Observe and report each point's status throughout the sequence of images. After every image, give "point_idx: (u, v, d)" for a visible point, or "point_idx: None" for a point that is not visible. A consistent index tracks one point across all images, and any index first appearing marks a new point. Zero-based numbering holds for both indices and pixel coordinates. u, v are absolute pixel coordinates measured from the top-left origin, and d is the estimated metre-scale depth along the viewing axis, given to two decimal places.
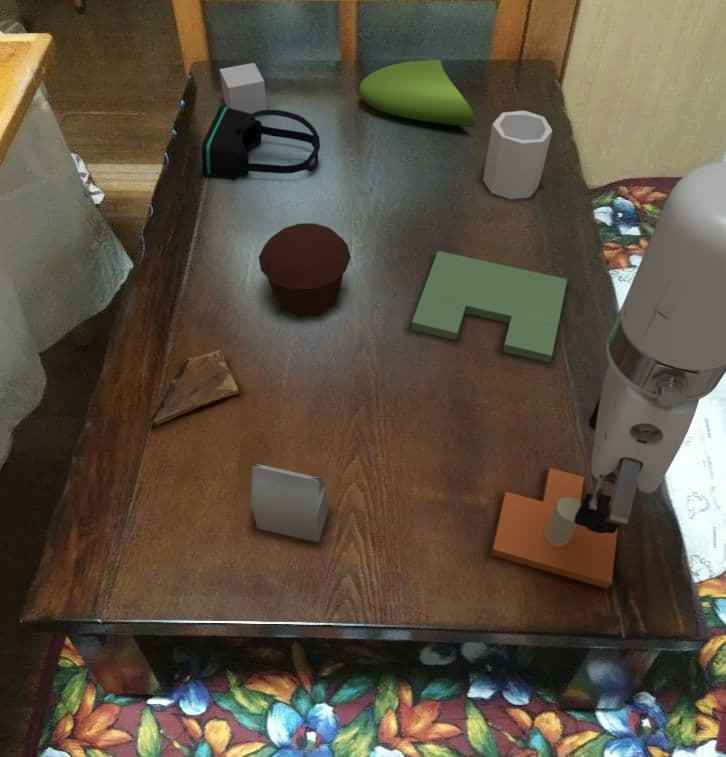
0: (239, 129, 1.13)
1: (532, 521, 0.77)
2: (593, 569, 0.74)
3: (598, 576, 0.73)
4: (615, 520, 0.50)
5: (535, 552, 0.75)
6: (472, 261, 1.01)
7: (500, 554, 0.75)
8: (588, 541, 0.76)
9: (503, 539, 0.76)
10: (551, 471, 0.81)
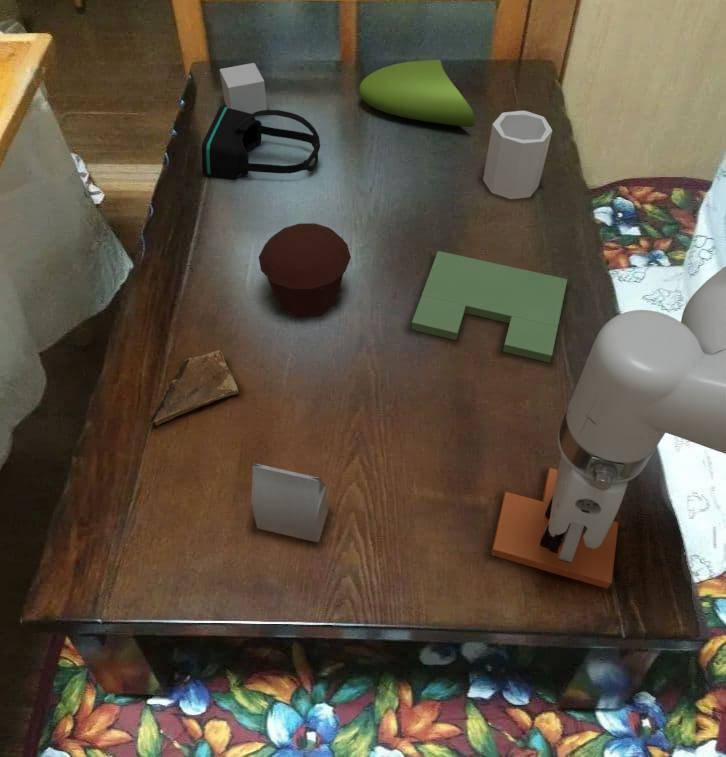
0: (239, 129, 1.13)
1: (532, 521, 0.77)
2: (593, 569, 0.74)
3: (598, 576, 0.73)
4: (562, 560, 0.67)
5: (535, 552, 0.75)
6: (472, 261, 1.01)
7: (500, 554, 0.75)
8: None
9: (503, 539, 0.76)
10: (551, 471, 0.81)
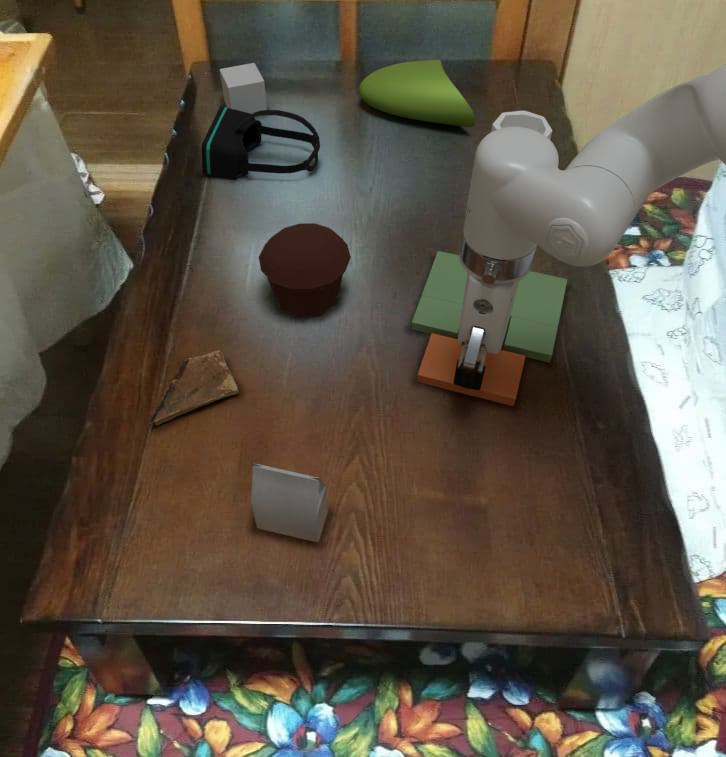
0: (239, 129, 1.13)
1: (452, 354, 0.91)
2: (501, 389, 0.87)
3: (505, 394, 0.87)
4: (467, 366, 0.77)
5: (453, 377, 0.88)
6: None
7: (424, 379, 0.89)
8: (499, 369, 0.89)
9: (427, 367, 0.89)
10: None
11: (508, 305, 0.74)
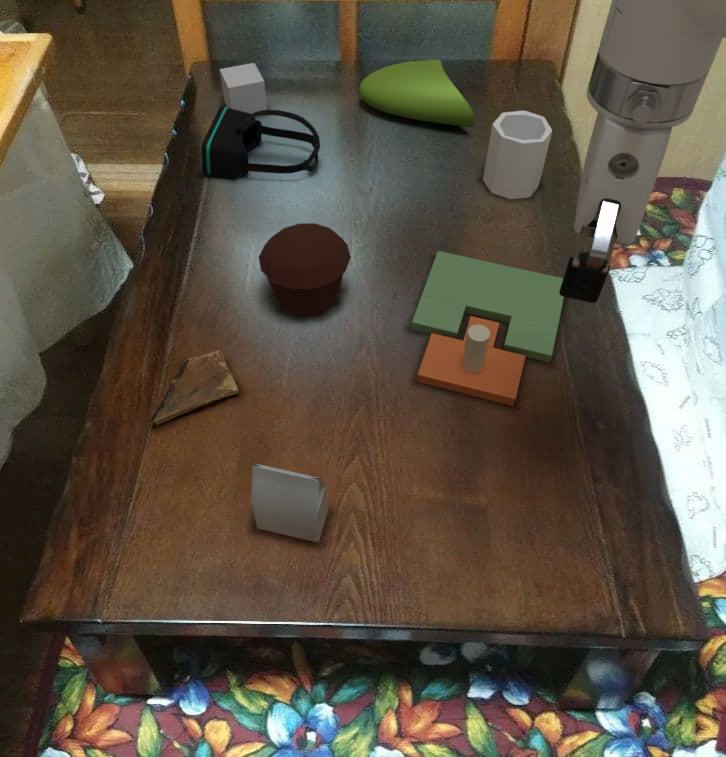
0: (239, 129, 1.13)
1: (452, 354, 0.91)
2: (501, 389, 0.87)
3: (505, 394, 0.87)
4: (595, 256, 0.54)
5: (453, 377, 0.88)
6: (472, 261, 1.01)
7: (424, 379, 0.89)
8: (499, 369, 0.89)
9: (427, 367, 0.89)
10: (472, 318, 0.94)
11: (660, 163, 0.52)
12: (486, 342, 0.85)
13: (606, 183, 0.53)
